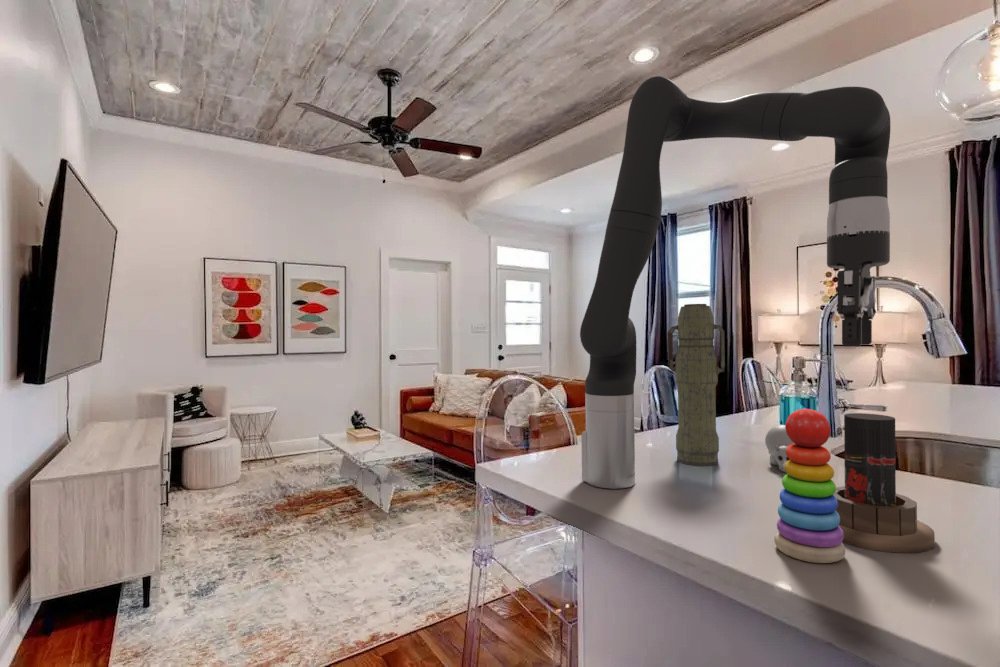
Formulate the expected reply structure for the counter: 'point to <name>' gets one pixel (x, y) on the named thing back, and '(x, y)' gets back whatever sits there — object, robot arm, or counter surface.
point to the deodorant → (870, 459)
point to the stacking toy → (809, 493)
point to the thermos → (696, 384)
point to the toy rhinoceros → (778, 445)
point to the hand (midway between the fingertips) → (857, 345)
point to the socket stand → (883, 525)
